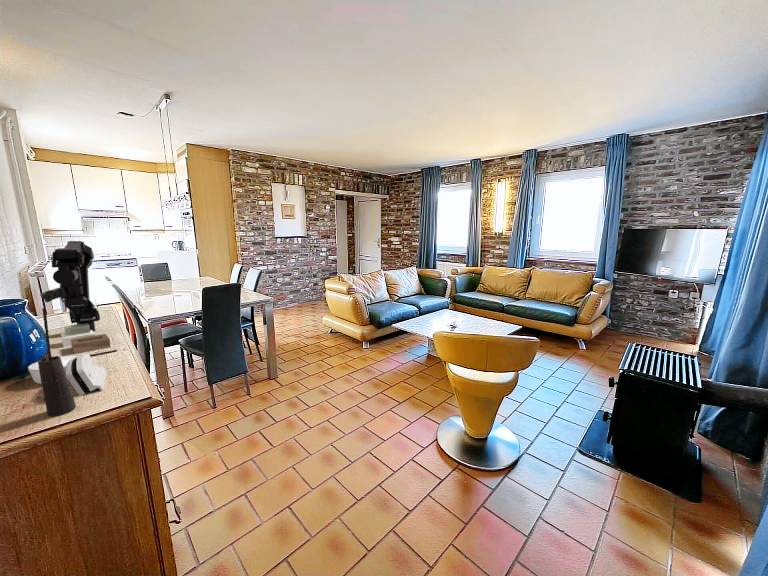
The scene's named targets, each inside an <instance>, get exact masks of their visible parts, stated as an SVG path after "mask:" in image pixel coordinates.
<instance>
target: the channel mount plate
mask: <svg viewBox="0 0 768 576" xmlns="http://www.w3.org/2000/svg"><path fill="white" fill-rule="evenodd" d="M71 344H72V346H71V349H72V352H73V353H74V355H78V354H83V353H84V354H85V353H88V352H95V351H99V350H104V349H109V348H112V347H111V340H110V337H109V336H108V335H107V334H106V333H103V334H101V333H100V334H95V335H94V336H88V337H82V338H76V339H71ZM112 353H118V350H117V349H114V350H109V351H103V352H97V353H92V354H89V355H90V357H91V358H93V357H97V356H103V355H107V354H112Z"/></svg>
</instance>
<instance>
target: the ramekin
mask: <svg viewBox="0 0 768 576" xmlns="http://www.w3.org/2000/svg"><path fill="white" fill-rule="evenodd" d="M59 357H60V358H61V361H62V364H63V368H64V371H65V374H66V365H67V363H68V361H70V360H71V359H73V358H75V357H77V356H76V355H65V356H59ZM27 370H28V372H29V373H30V375H31V379H32V380H33V382H35V383H36V384H39V385H42V383H41V377H40V372H39V365H38V361H36V362H34V363H31V364H30V365H29V366H27ZM67 380H68V378H67Z"/></svg>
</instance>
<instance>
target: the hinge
mask: <svg viewBox="0 0 768 576" xmlns="http://www.w3.org/2000/svg"><path fill="white" fill-rule="evenodd" d="M90 355H91V354H89V353H84V354H83V353H82V354H81V355H78V356H76V357H75V358H73V359H71V360H70V361H68V363H67V365H66V376H67V378H68V379H67V380H68V382H69V383H70V384H71V386H72V387H73V388H74V390H75V391H76V393H77V395H79V397H82V396H84V395H86V393H87V392H89V391H90V392H92V391H95V390H96V389H99V390H100V392H103V391H104V389H105V383H106V378H107V370H106V368H105V367H104V366H98V365H97V363H96V362H95V361H94V359H93V357H90Z"/></svg>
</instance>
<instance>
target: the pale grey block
mask: <svg viewBox="0 0 768 576" xmlns="http://www.w3.org/2000/svg"><path fill="white" fill-rule="evenodd" d="M63 331H64V334H65V336H66V337H69V336H76V335H82V334H89V333H90V326H89V324H88V323H86V324H79V325H77V324H74V325H73V324H71V325H66V326H63Z"/></svg>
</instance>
